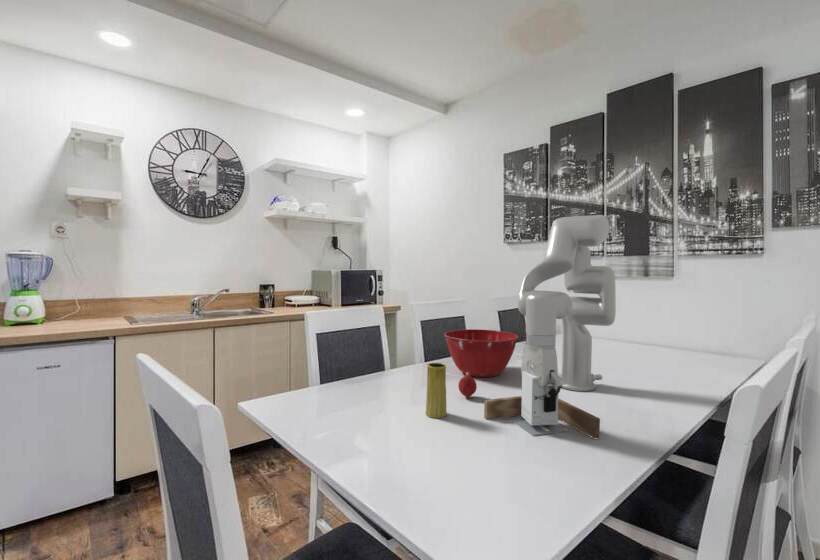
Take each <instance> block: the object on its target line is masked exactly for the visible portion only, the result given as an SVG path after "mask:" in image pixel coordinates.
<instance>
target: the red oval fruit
mask: <svg viewBox="0 0 820 560" xmlns="http://www.w3.org/2000/svg"><path fill="white" fill-rule="evenodd" d="M458 390H459V392H460V394H461V395H462V396H464V397H465V398H466V399H467V398H470V397H471V396H473V395H474V394H475V393H476V391H477V381H476V380H475V378H474V377H473V376H470V374H469V373H466V374H464V376H463V377H461V378H460V380H459V382H458Z"/></svg>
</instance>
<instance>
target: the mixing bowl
mask: <svg viewBox="0 0 820 560" xmlns="http://www.w3.org/2000/svg"><path fill="white" fill-rule="evenodd" d="M444 336H445V340H446V343H447V348H448V351H449V354H450V356H451V358H452V361H453V362H454V364H455V367H456V368H457V369H458V370H459V371H460V372H461V373H463V374H464V375H466V373H469V374H470V376H471V377H473V378H474V377H475V378H490V377H491V378H492V377H495V376H497V375H498V374H501V373H502V372H503V371H504V370H505V369H506V367H507V366H508V364H509V363H510V360H511V358H512V355H513V354H514V352H515V351H514V350H515V348H516V344H517V339H519V336H518V335H517V334H515V333H513V332H512V333H511V332H508V331H502V330H493V329H492V330H491V329H474V328H473V329H472V328H471V329H455V330H449V331H446V332H445V333H444Z"/></svg>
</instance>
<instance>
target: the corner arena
mask: <svg viewBox="0 0 820 560" xmlns="http://www.w3.org/2000/svg"><path fill="white" fill-rule="evenodd" d="M483 407H484V408H483V409H484V411H483V412H484V413H483V416H484V417H483V418H484V419H485V420H493V419H502V418H511V417H518V416H521V409H522V395H519V396H510V397H502V398H493V399H492V398H490V399H484V406H483ZM558 421H561V422H563V421H564V422H563V423H564V424H566V423H567V425H568V424H569V426H570V425H571V426H570V427H572V426H573V427H572V428H574V427H575V428H577V429H578V430H577V429H576V430H577V431H579V430H580V431H579V432H581V431H582V432H584V433H586V434H588V435H590V436H592V437H593V438H599V439H600V437H601V436H600V429H601V427H600V426H601V418H600V417H598V416H596V415H593V414H591V413H589V412H587V411H585V410H583V409H581V408H579V407H577V406H575V405H573V404H571V403H570V402H567V401H564V400H563V399H561V398H559V397H558ZM575 428H574V429H575ZM582 432H581V433H582ZM584 433H583V434H584ZM586 434H585V435H586ZM588 435H587V436H588ZM590 436H589V437H590ZM593 438H592V439H593Z"/></svg>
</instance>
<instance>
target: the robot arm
mask: <svg viewBox="0 0 820 560" xmlns="http://www.w3.org/2000/svg"><path fill="white" fill-rule="evenodd" d="M609 232H610V223H609V220H608V218H607V217H606V216H605V215H603V214H597V215H596V214H595V215H594V214H593V215H575V216H563V217H558V218H555V220H553V221H552V224H551V228H550V231H549V236H548V240H547V244H546V248H545V253H544V255H543V259H542V260H541V261H540V262H538V263H537V264H535V265H534V266H533V267H532V268H531V269H530V270H529V271H528V272H527V273H526V275H525V276H524V277H523V279H522V281H521V285H520V290H519V292H518V296H517V309H518V311H519V313H520V314H521V315H522V316H525V343H524V345H523V350H522V358H521V359H522V361H521V367H520V369H519V370H520V373H521V374H522V371H524V372H526V373H528V374H531V375H533V376H535V377H537V378H538V386H539V387H543V388H544V391H545V394H546V396H544V412H554V411H556V397H557V396H558V397H559V393H561V389H565V390H569V391H574V392H575V391H576V392H589V391H591V392H592V391H594V390H596V389H597V388H596V387H597V385H596V383H595V381H601V380H603V375H602V374H600V373H599V374H594V373H592V357H593V355H592V350H593V349H592V346H593V345H592V343H593V342H592V341H593V338H592V335H591V332H590V331H589V330H588V328H587V327H586V326H601V327H609V326H612V325H613V323H614V322H615V320H616V314H617V313H616V302H617V301H616V276H615V272H614V271H613V268H612V267H609V266H606V265H592V262H591V256H592V255H591V254H592V253H591V252H592V251H591V250H590V248H589V247H598V246H600V245H601V244H602V243H604V242H605V241H606V239H607V238H608V237H609ZM562 275H564V276H563V277H564V280H563V281H564V287H565V290H567V292H569V293H574V294H585V295H586V294H587V295H589V294H590V295H598V296H599V297H591V296H570V295H569V294H568V293H566V292H563V291H552V290H535V289H536V288H537V287H538V286H540V285H541V284H542V283H544V282H546V281H548V280H550V279H551V280H552V279H554V278H556V277H559V276H562ZM557 320H561V323H562V351H561V353H562V354H561V355H562V357H561V358H562V359H561V362H562V363H561V378H558V377H559V375H558V373H559V367H558V358H557V357H558V355H557V354H558V353H557V349H556V339H557V338H556V331H557V330H556V329H557ZM549 378H550V379H551V380H552V384H547V383H548V381H549ZM548 387H552V389H551V390H550V391H549V389H548Z"/></svg>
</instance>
